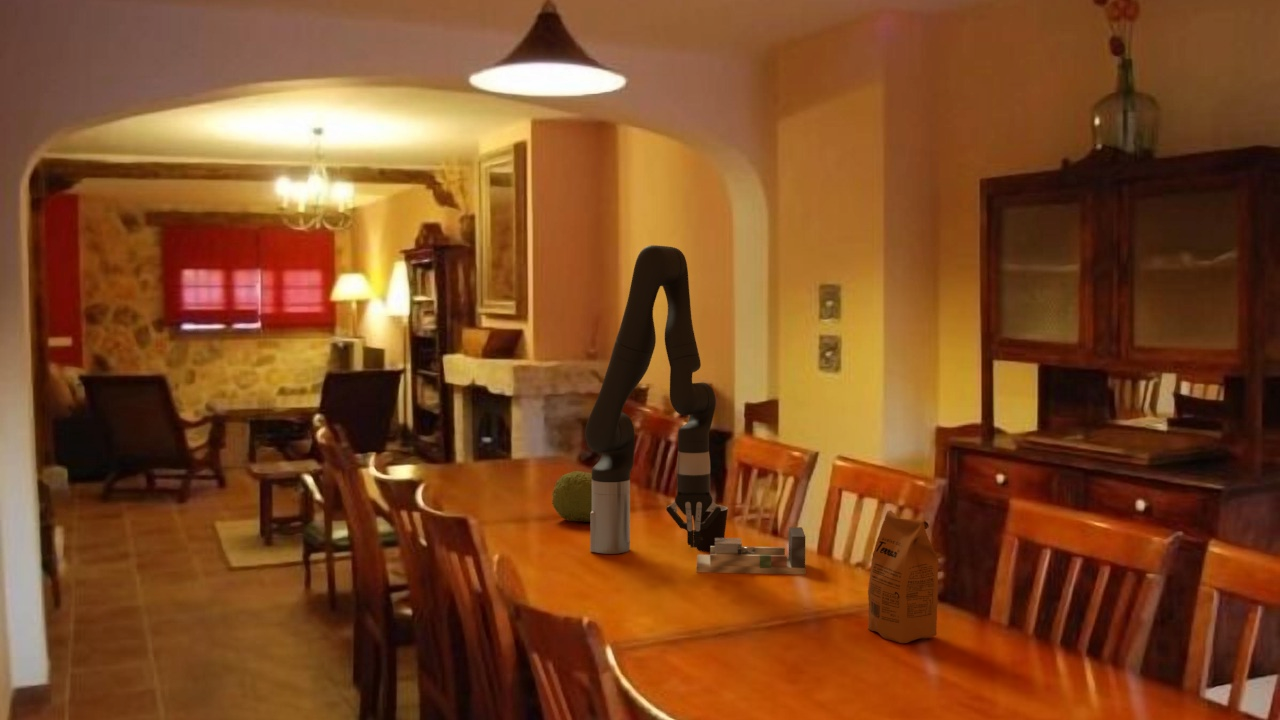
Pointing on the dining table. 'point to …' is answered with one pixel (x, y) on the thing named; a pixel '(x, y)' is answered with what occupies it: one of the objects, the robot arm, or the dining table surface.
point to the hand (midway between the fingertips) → (693, 546)
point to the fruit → (573, 496)
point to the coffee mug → (712, 529)
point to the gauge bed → (759, 559)
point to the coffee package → (903, 581)
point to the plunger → (731, 546)
